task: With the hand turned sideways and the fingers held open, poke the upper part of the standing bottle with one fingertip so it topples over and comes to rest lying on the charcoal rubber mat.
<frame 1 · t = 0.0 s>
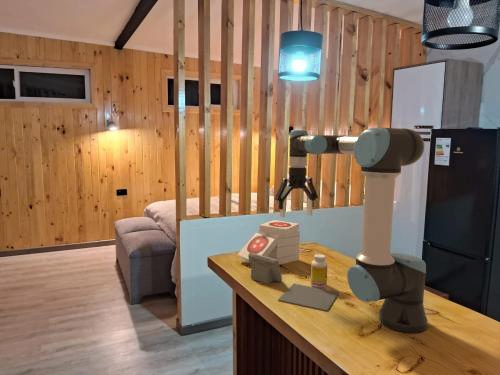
hand: (296, 215, 163), 28 cm above the kitchen island, tool pointing down, fingers open, 13 cm apart
supplement bottle: (318, 285, 158), on the kitchen island
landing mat: (309, 296, 146), on the kitchen island
pizza boxes: (270, 261, 189), on the kitchen island
digital clock: (264, 279, 165), on the kitchen island
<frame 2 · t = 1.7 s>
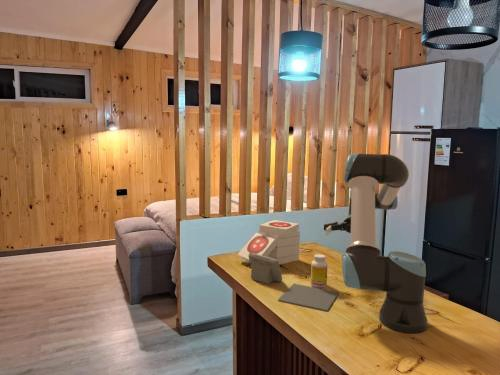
hand: (342, 233, 159), 21 cm above the kitchen island, tool horizontal, fingers open, 13 cm apart
nothing on the kitchen island moved.
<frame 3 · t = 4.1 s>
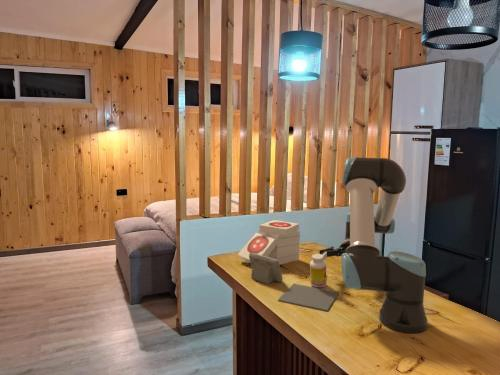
hand: (338, 261, 156), 11 cm above the kitchen island, tool horizontal, fingers open, 13 cm apart
supplement bottle: (318, 284, 158), on the kitchen island, touching gripper
everything else where it was.
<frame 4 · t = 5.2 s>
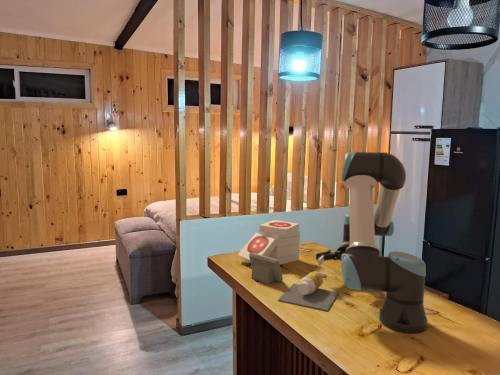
hand: (335, 265, 150), 11 cm above the kitchen island, tool horizontal, fingers open, 13 cm apart
supplement bottle: (316, 278, 155), point 4 cm above the kitchen island, touching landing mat
everything else where it was.
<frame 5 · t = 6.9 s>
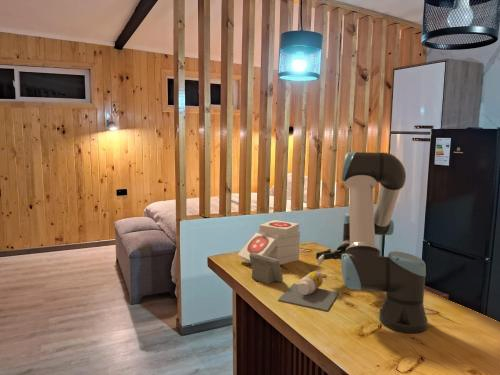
hand: (335, 264, 151), 11 cm above the kitchen island, tool horizontal, fingers open, 13 cm apart
nothing on the kitchen island moved.
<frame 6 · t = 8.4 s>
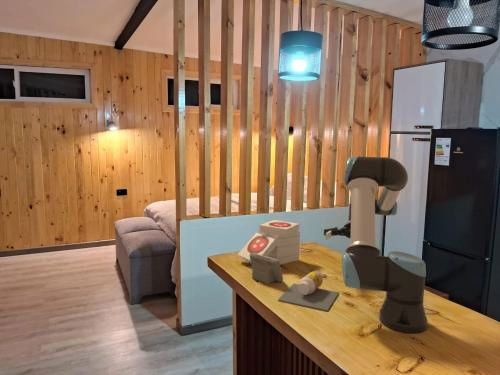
hand: (342, 238, 159), 19 cm above the kitchen island, tool horizontal, fingers open, 13 cm apart
nothing on the kitchen island moved.
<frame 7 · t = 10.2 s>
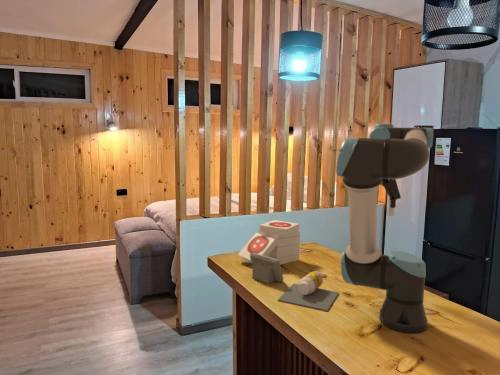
hand: (378, 213, 157), 31 cm above the kitchen island, tool pointing down, fingers open, 13 cm apart
nothing on the kitchen island moved.
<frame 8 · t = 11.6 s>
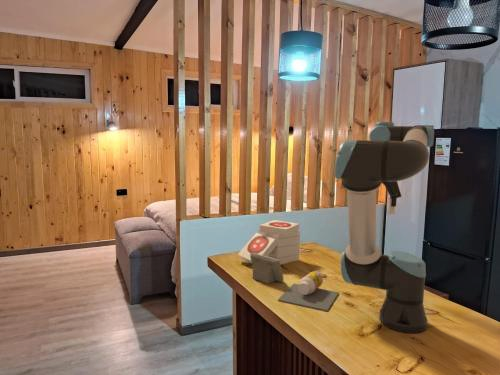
hand: (379, 211, 156), 32 cm above the kitchen island, tool pointing down, fingers open, 13 cm apart
nothing on the kitchen island moved.
at the end: supplement bottle tilted 91°; supplement bottle touching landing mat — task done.
